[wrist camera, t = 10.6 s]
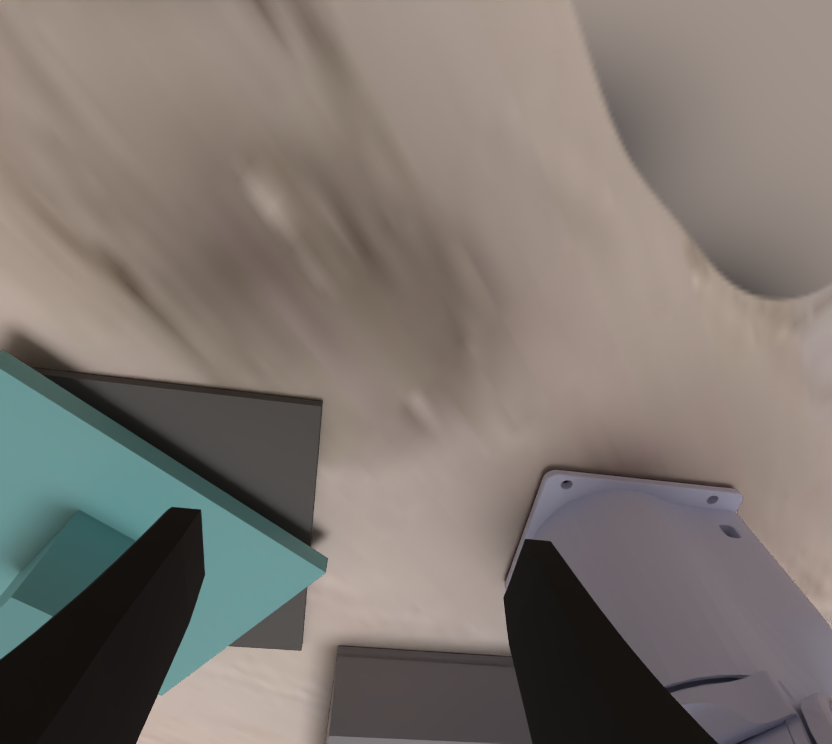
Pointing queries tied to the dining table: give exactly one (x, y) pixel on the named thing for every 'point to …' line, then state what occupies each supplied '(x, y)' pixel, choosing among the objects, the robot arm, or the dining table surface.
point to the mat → (227, 457)
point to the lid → (121, 521)
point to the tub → (424, 699)
